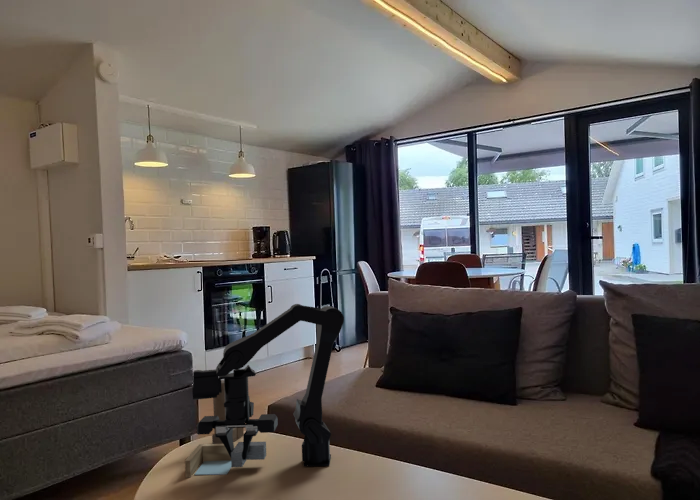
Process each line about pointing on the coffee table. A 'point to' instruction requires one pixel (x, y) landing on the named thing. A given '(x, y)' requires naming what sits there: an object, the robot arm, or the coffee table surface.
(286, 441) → the coffee table surface
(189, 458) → the corner walls
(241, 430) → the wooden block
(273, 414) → the robot arm
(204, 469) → the pad
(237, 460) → the bracket
